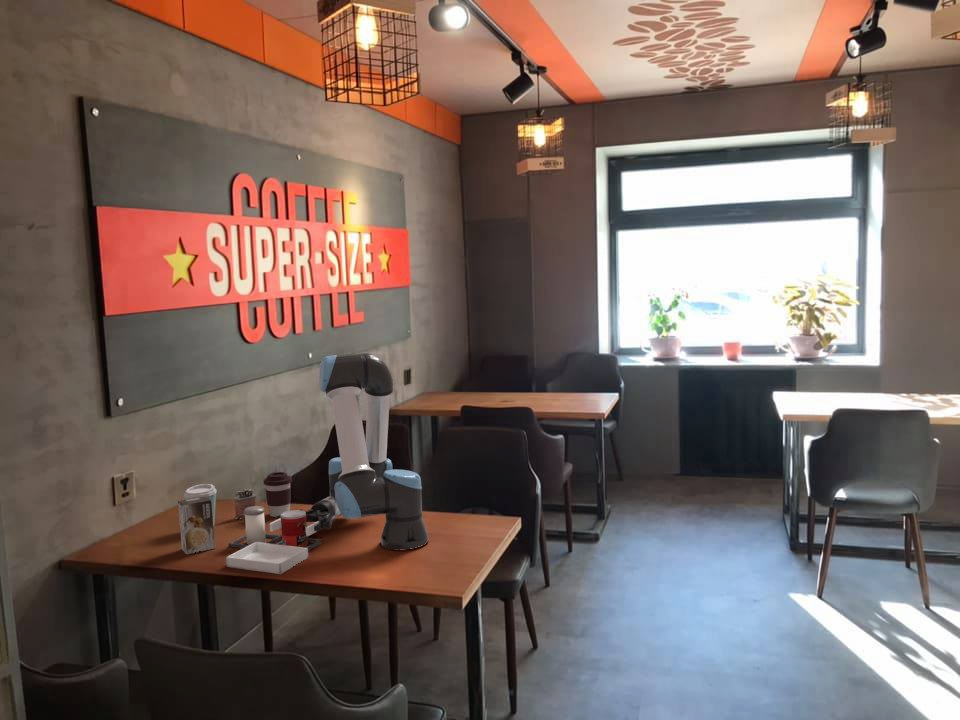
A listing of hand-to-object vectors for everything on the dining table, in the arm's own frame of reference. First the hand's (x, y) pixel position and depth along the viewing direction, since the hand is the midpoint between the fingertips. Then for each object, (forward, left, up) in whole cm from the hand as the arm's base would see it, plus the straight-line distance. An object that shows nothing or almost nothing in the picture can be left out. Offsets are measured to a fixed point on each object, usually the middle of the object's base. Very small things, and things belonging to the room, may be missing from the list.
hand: (288, 529), depth 250 cm
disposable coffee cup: (+41, -8, -7) cm, 42 cm away
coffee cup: (+26, -31, -7) cm, 41 cm away
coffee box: (+29, +8, -7) cm, 31 cm away
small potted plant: (+36, -25, -7) cm, 44 cm away
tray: (0, +11, -7) cm, 13 cm away
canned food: (0, -3, -7) cm, 7 cm away
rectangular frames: (+7, -3, -7) cm, 10 cm away
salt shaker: (+15, -3, -7) cm, 16 cm away
